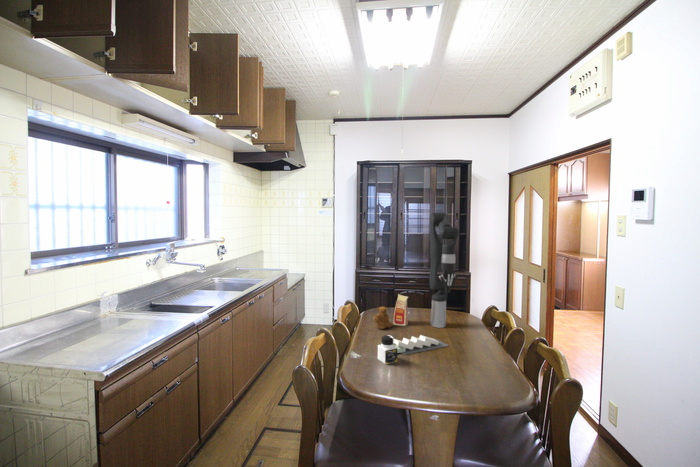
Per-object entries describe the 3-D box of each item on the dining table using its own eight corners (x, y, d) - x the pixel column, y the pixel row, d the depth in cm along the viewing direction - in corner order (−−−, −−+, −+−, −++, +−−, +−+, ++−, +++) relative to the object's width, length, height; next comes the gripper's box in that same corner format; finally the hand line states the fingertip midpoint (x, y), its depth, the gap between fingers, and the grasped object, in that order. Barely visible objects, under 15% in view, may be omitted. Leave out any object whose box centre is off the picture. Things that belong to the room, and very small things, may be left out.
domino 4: (430, 346, 171) (416, 342, 167) (424, 343, 175) (410, 339, 171) (431, 343, 171) (417, 339, 167) (425, 340, 176) (411, 336, 172)
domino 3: (421, 348, 169) (407, 344, 165) (416, 345, 173) (402, 341, 169) (423, 344, 169) (408, 340, 165) (417, 341, 173) (403, 337, 169)
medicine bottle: (385, 364, 150) (385, 340, 149) (377, 358, 156) (377, 335, 156) (397, 361, 153) (397, 337, 152) (389, 356, 159) (389, 333, 159)
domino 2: (400, 344, 169) (384, 347, 165) (405, 347, 164) (389, 350, 160) (400, 348, 169) (384, 351, 165) (405, 351, 164) (389, 354, 160)
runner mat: (393, 347, 170) (393, 347, 170) (436, 339, 182) (437, 339, 182) (403, 355, 161) (403, 354, 161) (448, 346, 173) (448, 345, 173)
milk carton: (393, 324, 210) (393, 295, 209) (396, 320, 218) (396, 292, 218) (406, 326, 206) (407, 296, 206) (409, 322, 215) (409, 293, 214)
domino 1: (412, 349, 166) (397, 345, 162) (407, 346, 170) (392, 342, 167) (413, 346, 166) (399, 341, 162) (408, 342, 171) (394, 338, 167)
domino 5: (438, 345, 173) (424, 341, 169) (432, 342, 178) (419, 338, 174) (439, 341, 173) (425, 337, 169) (433, 338, 178) (420, 334, 174)
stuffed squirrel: (392, 325, 208) (393, 305, 207) (385, 332, 195) (386, 311, 195) (378, 323, 212) (379, 304, 212) (371, 329, 199) (371, 309, 199)
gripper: (452, 260, 184) (452, 289, 184) (434, 261, 178) (434, 291, 179) (462, 262, 177) (461, 292, 177) (443, 263, 171) (443, 294, 172)
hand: (447, 292), depth 178 cm, fingers closed
